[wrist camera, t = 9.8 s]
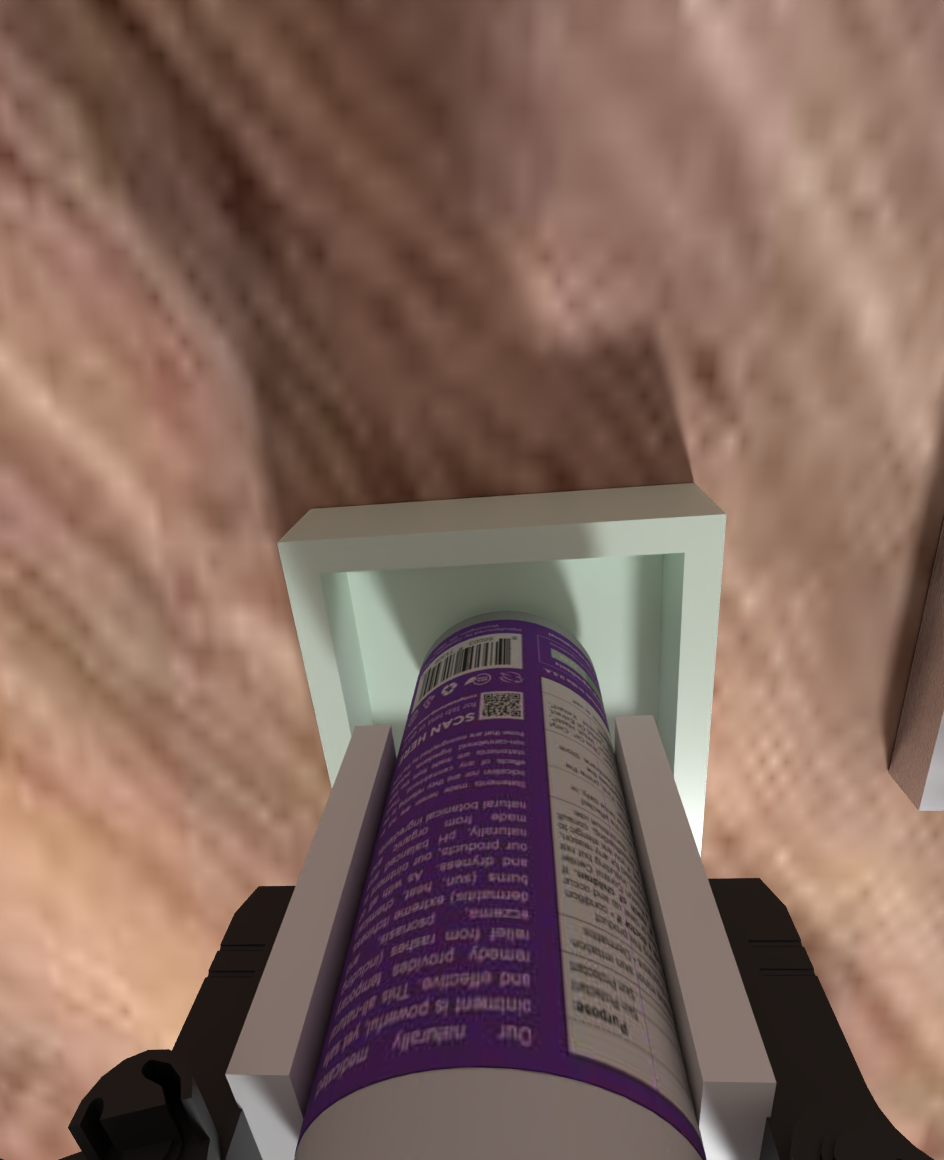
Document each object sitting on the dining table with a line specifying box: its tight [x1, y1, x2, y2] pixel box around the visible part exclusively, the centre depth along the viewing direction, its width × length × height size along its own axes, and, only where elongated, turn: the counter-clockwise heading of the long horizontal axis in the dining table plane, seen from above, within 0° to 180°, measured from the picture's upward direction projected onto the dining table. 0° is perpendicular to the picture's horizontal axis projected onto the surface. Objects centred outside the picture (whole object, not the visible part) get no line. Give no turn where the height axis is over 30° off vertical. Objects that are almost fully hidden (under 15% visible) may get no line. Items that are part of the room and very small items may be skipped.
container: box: [294, 611, 707, 1160], centre depth 10 cm, size 5×5×15 cm
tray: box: [277, 483, 726, 857], centre depth 16 cm, size 10×10×2 cm
